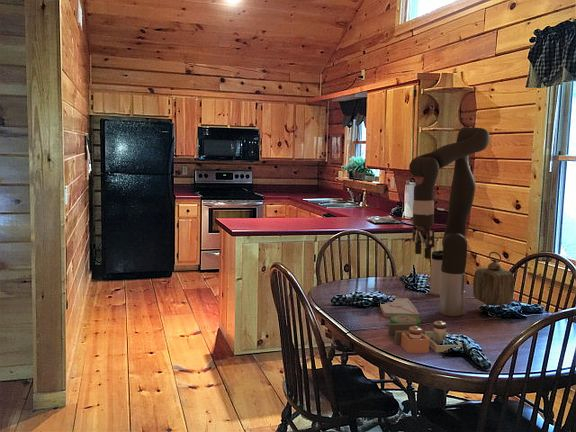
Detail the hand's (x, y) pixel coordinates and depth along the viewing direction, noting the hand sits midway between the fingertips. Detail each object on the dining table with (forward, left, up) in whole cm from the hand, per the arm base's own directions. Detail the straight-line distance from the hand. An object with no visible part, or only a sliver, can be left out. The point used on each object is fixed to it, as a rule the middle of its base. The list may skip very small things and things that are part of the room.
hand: (422, 256), depth 198 cm
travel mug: (-26, -44, -27) cm, 58 cm away
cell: (0, +18, -27) cm, 32 cm away
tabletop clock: (-38, -17, -27) cm, 50 cm away
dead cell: (+10, +22, -27) cm, 36 cm away
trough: (0, +19, -27) cm, 33 cm away
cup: (+10, +22, -27) cm, 37 cm away
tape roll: (+4, -3, -28) cm, 28 cm away
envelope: (+1, -24, -28) cm, 37 cm away
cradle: (+10, +13, -27) cm, 32 cm away
